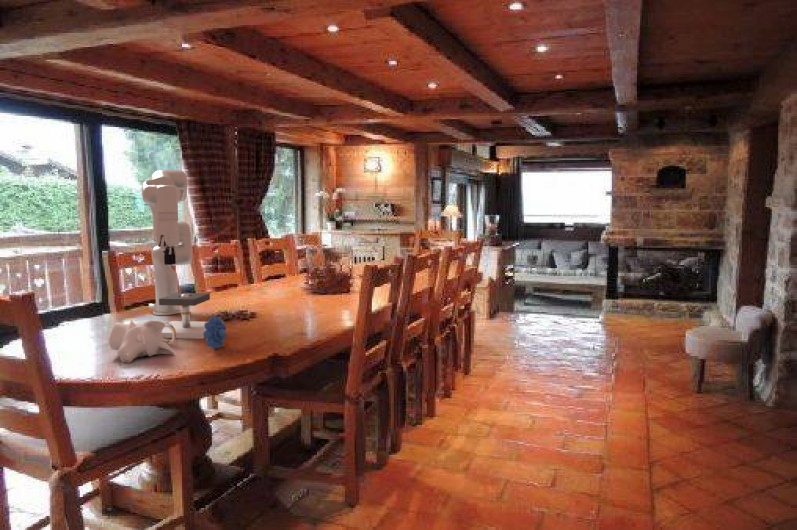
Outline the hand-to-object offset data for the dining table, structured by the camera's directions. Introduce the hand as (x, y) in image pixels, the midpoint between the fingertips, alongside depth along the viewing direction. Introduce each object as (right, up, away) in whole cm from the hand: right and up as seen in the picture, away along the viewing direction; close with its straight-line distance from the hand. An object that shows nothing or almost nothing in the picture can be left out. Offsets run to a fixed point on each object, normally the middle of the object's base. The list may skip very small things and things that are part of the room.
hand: (170, 264), depth 214 cm
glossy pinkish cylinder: (+5, -25, +2) cm, 26 cm away
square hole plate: (+5, -15, +1) cm, 16 cm away
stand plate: (+5, -27, +3) cm, 28 cm away
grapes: (+26, -30, -23) cm, 46 cm away
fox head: (+4, -31, -33) cm, 46 cm away
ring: (+6, -29, -16) cm, 34 cm away
